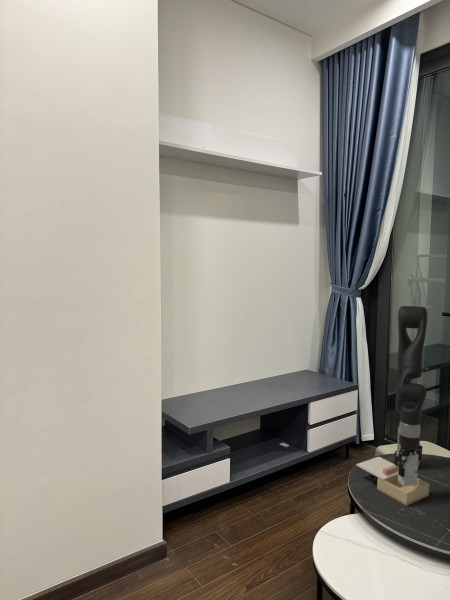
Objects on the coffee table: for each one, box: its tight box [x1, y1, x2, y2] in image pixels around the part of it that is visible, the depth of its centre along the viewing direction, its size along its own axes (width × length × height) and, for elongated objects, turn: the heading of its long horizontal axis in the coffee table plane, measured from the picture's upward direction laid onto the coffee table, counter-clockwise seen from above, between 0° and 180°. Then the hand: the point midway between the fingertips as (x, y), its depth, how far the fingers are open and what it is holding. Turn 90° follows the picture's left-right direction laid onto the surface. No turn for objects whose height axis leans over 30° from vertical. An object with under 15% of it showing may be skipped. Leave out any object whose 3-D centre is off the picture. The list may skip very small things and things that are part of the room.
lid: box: [356, 456, 398, 480], centre depth 178 cm, size 14×14×3 cm
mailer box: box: [376, 475, 430, 507], centre depth 170 cm, size 14×14×5 cm
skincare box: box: [398, 454, 419, 486], centre depth 167 cm, size 6×4×12 cm
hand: (407, 473), depth 167 cm, fingers closed on skincare box, 7 cm apart
